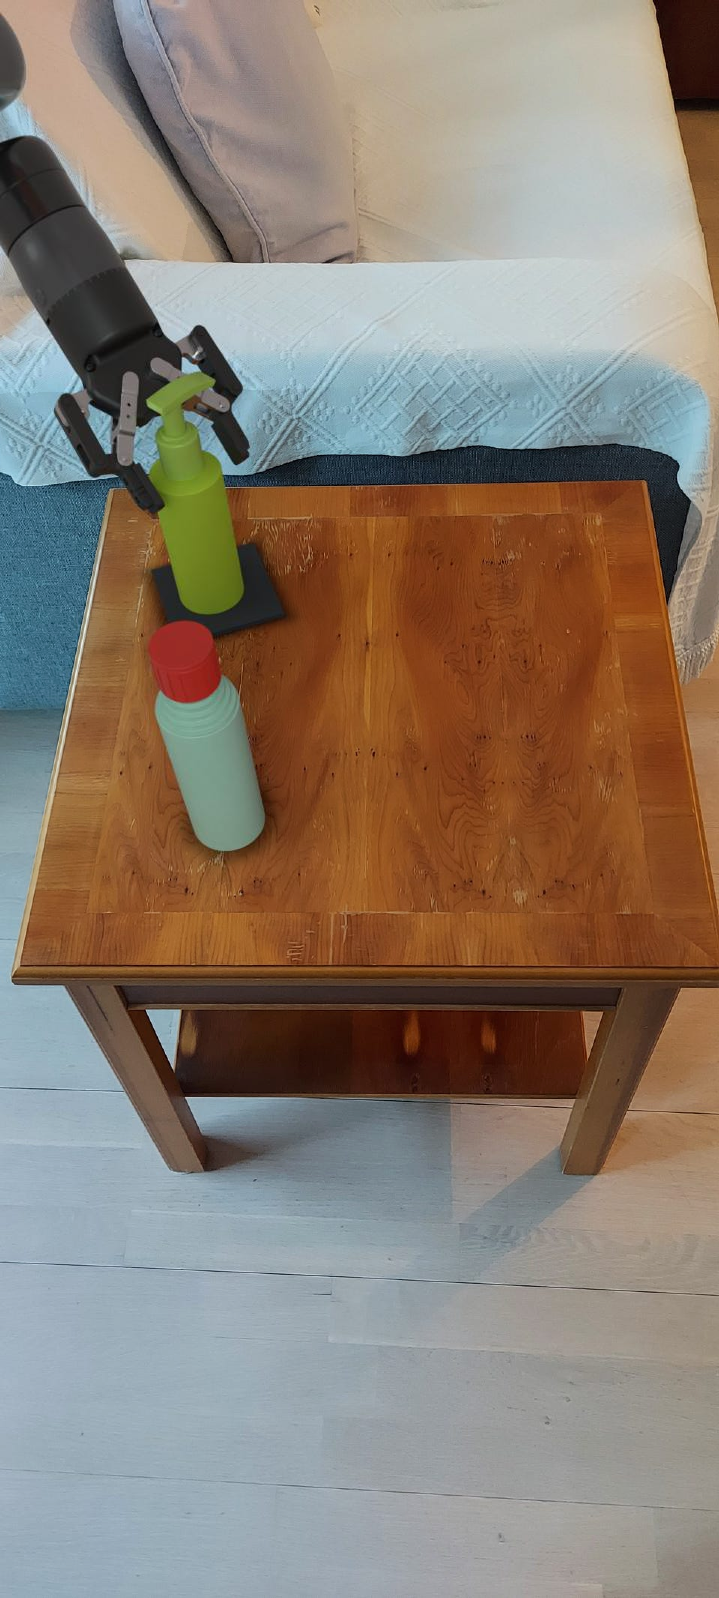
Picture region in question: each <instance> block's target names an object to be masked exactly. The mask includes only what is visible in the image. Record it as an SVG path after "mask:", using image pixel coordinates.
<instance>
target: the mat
mask: <svg viewBox="0 0 719 1598" xmlns="http://www.w3.org/2000/svg"><path fill="white" fill-rule="evenodd" d="M236 547H237V553H238V558H239V563H240V569H241V574H242V579H243V585H244V592H243V595H242V597H241V599H240V600H239V602H238V603H237V604H236V605H234V606H233V607H232V608H230V609H228V610H226V611H224V612H221V613H217V614H199V613H195V612H193V611H191V610H189V609H187V608H186V607H185V606H184V605H183V604H182V602H181V600H180V596H179V592H178V589H177V585H176V581H175V577H174V573H173V569H172V566H171V564H168V565H164V566H161V567H157V568H153V569H151V570H150V571H151V575H152V578H153V582H154V584H155V587H156V591H157V593H158V595H159V598H160V599H159V600H160V602H161V604H162V607H163V610H164V612H165V616H166V619H167V622H168V624H170V623H173V622H177V621H193V622H197V623H199V624H202V625H203V626H205V627H206V628H207V629H208V630H209V631H210V632H211V634H212V637H213V638H217V637H219V636H223V635H227V634H230V633H234V632H237V631H241V630H244V629H248V628H252V627H255V626H258V625H262V624H266V623H269V622H272V621H276V620H279V619H280V620H281V619H283V618H285V617H286V612H285V610H284V608H283V605H282V603H281V601H280V598H279V596H278V594H277V591H276V590H275V587H274V585H273V582H272V581H271V578H270V576H269V574H268V571H267V570H266V567H265V564H264V562H263V559H262V558H261V555H260V553H259V551H258V548H257V546H256V544H255V542H250V543H246V544H241V545H238V546H236Z"/></svg>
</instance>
